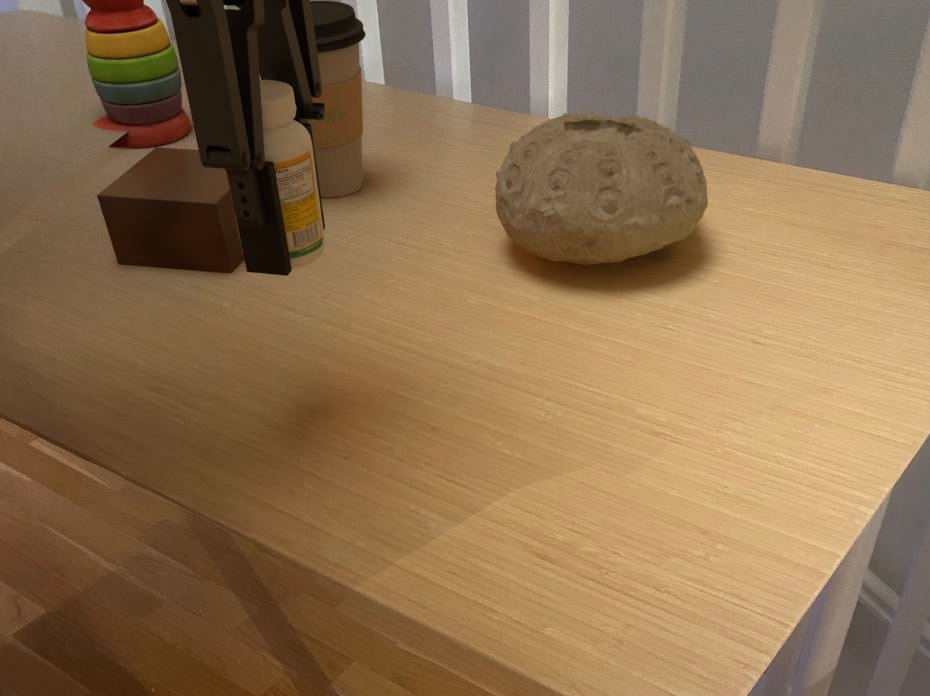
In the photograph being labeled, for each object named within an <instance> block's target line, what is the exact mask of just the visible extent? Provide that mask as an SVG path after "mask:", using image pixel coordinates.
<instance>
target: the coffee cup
mask: <svg viewBox="0 0 930 696" xmlns="http://www.w3.org/2000/svg"><path fill="white" fill-rule="evenodd" d="M310 4H311V11H312V18H313V25H314V32H315V39H316V47H317V54H318V61H319V68H320V75H321V82H322V94H321V96H320V98H312V101H313V102H314V103H324V104H325V116H324V119H323V120H311V119H308V123H309V124H311V129H312V136H313V143H314V150H315V157H316V165H317V172H318V179H319V186H320V193H321V198H340V197H347V196H350V195H352V194H355V193H356V192H358V191H359V190H360V189H361V188H362V186H363V143H362V141H363V140H362V139H363V138H362V136H363V133H364V126H363V125H364V123H363V122H364V121H363V119H364V118H363V81H362V67H361V63H360V42H362V41H363V40H364V39H365V38H366V31H365V30H364V24H363V22H362V20H360V19H358V18H357V16H356V11H355V9H354V7H353V6H352V5H351V4H348V3H345V2H341V1H335V0H310ZM305 73H306V72H305Z"/></svg>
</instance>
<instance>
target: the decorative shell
mask: <svg viewBox="0 0 930 696" xmlns="http://www.w3.org/2000/svg"><path fill="white" fill-rule="evenodd" d="M495 176H496V183H495V186H494V191H495V211H496V215H497V217H498V220H499V222H500V224H501V226H502V227H503V229H504V231H505V233H506V236H507V237H508V238H510V239H511V240H513V241H514V243H515V244H516V245H518V246H519V247H520V248H522V249H524V250H526V251H527V252H529V253H530V254H533V255H537V256H538V257H539V258H542V259H546V260H549V261H552V262H567V263H571V264H575V265H584V266H585V265H586V266H591V265H594V264H608V263H609V264H610V263H621V262H624V261H625V260H627V259H631V258H635V257H636V258H637V256H644V255H646V254H649V253H651V252H654V251H658V250H661V249H663V248H664V247H665V246H668V245H671V244H672V243H675V242H679V241H680V242H681V241H683V240H684V239H686V238H688V236H689V235H691V234H692V233H693V232H694V229H695V228H696V227H697V225H698V223H699V222H700V221H701V220H702V219H703V217H704V214H705V211H706V210H707V208H708V203H709V198H708V186H707V178H706V176H705V173H704V169H703V167H702V164H701V162H700V160H699V157H698V155H697V154H696V153H695V152H694V150H693V148H692V145H691V142H690V141H689V140H688V139H687V138H682V137H681V135H679V134H676V133H675V131H673V130H672V129H671V128H670V127H667V126H664V125H662V124H660V123H657V122H656V121H654V120H652V119H649V118H647V117H643V116H642V117H641V116H639V115H637V116H633V115H631V114H627V115H626V116H618V117H617V116H613V115H612V116H607V117H606V116H603V115H597V114H594V113H593V112H590V113H586V112H572V113H566V112H565V113H563V114H562V115H560V116H558V117H553V118H550V119H547V120H544V121H543V122H542V123H540V124H538V125H536V126H533V127H532V129H531V130H529V131H527V132H526V133H525V134H523V135H522V136H521V137H519V139H518V140H517V141H516V140H515V141H511V142H510V145H509V150H508V153H507V154H506V156H505V157H504V158H503V161H502V163H501V165H500V168H499V169H498V170H496V171H495Z"/></svg>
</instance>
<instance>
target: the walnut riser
mask: <svg viewBox="0 0 930 696" xmlns="http://www.w3.org/2000/svg"><path fill="white" fill-rule="evenodd" d="M96 197H97V198H96V199H97V201H98V204H99V207H100V210H101V213H102V217H103V220H104V222H105V226H106V229H107V233H108V235H109V239H110V242H111V246H112V248H113V252H114V255H115V259H116V262H117V264H124V265H132V266H133V265H134V266H147V267H157V268H169V269H170V268H171V269H180V270H181V269H182V270H191V271H192V270H194V271H204V272H206V271H207V272H218V273H229V274H231V273H233V272H234V270H235V269H236V268H237V267H238V266H239V265H240V263H241V262H243V260H244V255H243V252H242V248H241V243H240V238H239V233H238V228H237V223H236V218H235V213H234V208H233V202H232V198H231V193H230V188H229V183H228V178H227V172H226V170H225V169H220V168H207V167H204V166H203V165H202V163H201V160H200V155H199V150H198V149H191V148H176V147H159V146H158V147H157V146H155V148H153V149H152V150H151V151H149V152H148V153H147V154H146V155H144V156H143V157H142V158H141V159H139V160H138V161H137V162H135V164H133V165H132V166H131V167H129V169H127V170H126V171H124V173H122V174H121V175H120V176H118V177H117V178H116V179H114V180H113V182H111V183H110V184H109V185H108V186H107V187H105V188H104V189H103V190H101V191H100V192H99V193H98V194H97V195H96Z"/></svg>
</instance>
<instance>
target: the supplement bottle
mask: <svg viewBox="0 0 930 696" xmlns="http://www.w3.org/2000/svg"><path fill="white" fill-rule="evenodd" d="M260 92H261V107H262V122H263V138H264V153H265V161H269V162H274V167H275V173H276V179H277V185H278V191H279V197H280V203H281V209H282V215H283V221H284V227H285V233H286V239H287V244H288V250H289V256H290V262H291V268H292V270H294V269H299V268H302V267H305V266H308V265H310V264H312V263H314V262H316V261H317V260H318V259H319V258H320V257H321V256H322V255H323V253H324V251H325V248H326V240H325V239H326V238H325V229H324V230H323V223H322V216H321V208H320V200H319V193H318V186H317V178H316V170H315V162H314V154H313V147H312V141H311V137H310V134H309V132H308V131H307V129H306V128H305V127H304V126H303V125H302V124H300V123H299V122H297V121H295V120H293V119H294V117H295V115H296V104H295V99H294V92H293V88H292V87H291V86H290V85H289V84H287V83H284V82H280V81H274V80H261V79H260ZM227 178H228V177H227ZM228 183H229V181H228ZM229 188H230V186H229ZM230 193H231V191H230ZM231 198H232V196H231ZM232 202H233V201H232ZM233 208H234V206H233ZM234 213H235V211H234ZM235 218H236V216H235ZM236 223H237V221H236ZM237 228H238V226H237ZM238 233H239V231H238ZM239 238H240V235H239ZM240 243H241V240H240ZM241 248H242V245H241ZM242 252H243V250H242Z"/></svg>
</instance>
